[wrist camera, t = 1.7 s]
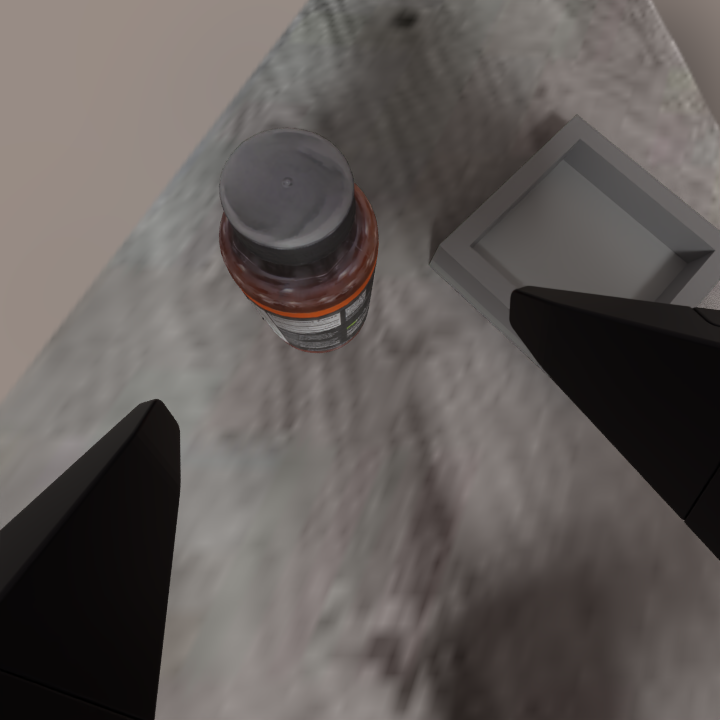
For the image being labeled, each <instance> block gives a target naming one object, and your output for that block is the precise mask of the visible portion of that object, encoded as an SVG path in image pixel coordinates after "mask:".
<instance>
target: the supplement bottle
mask: <svg viewBox="0 0 720 720" xmlns="http://www.w3.org/2000/svg"><path fill="white" fill-rule="evenodd" d="M219 191H220V199H221V204H222V207H223V210H224V212H223V215H222V220H221V222H220V231H219V243H220V249H221V254H222V257H223V260H224V262H225V264H226V266H227V268H228V271H229V273H230V274H231V276H232V278H233V279H234V281H235V282H236V283H237V285H238V286H239V287H240V288H241V290H242V291H243V293H244V294H245V295H246V297H247V298H248V299H249V301H250V302H251V303H252V304H253V305H254V307H255V308H256V309H257V310H258V312H259V313H260V314H261V315H262V317H263V320H264V319H265V320H266V321H267V323H268V324H269V325H270V326H271V328H272V329H273V330H274V331H275V332H276V333H277V334H278V335H279V336H280V337H281V339H283V340H284V341H285V342H286V343H288V344H289V345H291V346H292V347H294V348H296V349H298V350H301V351H305V352H310V353H324V352H329V351H333V350H336V349H339V348H341V347H342V346H344V345H345V344H347V343H348V342H350V341H351V340H352V339H353V338H354V337H355V336H356V335H357V334H358V332H359V331H360V329H361V327H362V326H363V324H364V321H365V320H366V316H367V313H368V309H369V303H370V297H371V290H372V285H373V279H374V273H375V267H376V260H377V254H378V245H379V243H378V227H377V221H376V218H375V214H374V212H373V209H372V206H371V204H370V203H369V201H368V199H367V198H366V196H365V194H364V193H363V192H362V191H361V189H360V188H359V187H358V186H357V185H356V184H355V183H354V179H353V175H352V172H351V169H350V167H349V164H348V162H347V160H346V158H345V157H344V155H343V154H342V153H341V152H340V151H339V149H338V148H337V147H336V146H335V145H334V144H332V143H331V142H330V141H329V140H327V139H325V138H324V137H322V136H320V135H318V134H316V133H314V132H310V131H307V130H302V129H297V128H277V129H271V130H267V131H263V132H260V133H258V134H256V135H254V136H252V137H250V138H249V139H247V140H245V141H244V142H242V143H241V144H240V145H239V146H238V147H237V148H236V149H235V150H234V152H233V153H232V154H231V155H230V157H229V158H228V160H227V161H226V163H225V166H224V168H223V170H222V174H221V179H220V184H219Z"/></svg>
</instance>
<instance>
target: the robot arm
mask: <svg viewBox="0 0 720 720" xmlns="http://www.w3.org/2000/svg"><path fill="white" fill-rule="evenodd" d="M509 321H510V325H511V327H512V328H513V330H514V331H515V332H516V334H517V335H518V336H519V338H520V339H521V340H522V342H523V343H524V345H525V346H526V347H527V349H528V350H529V351H530V353H531V354H532V355H533V357H534V358H535V360H536V361H537V362H538V363H539V365H540V366H541V367H542V369H543V370H544V371H545V372H546V373H547V374H548V375H549V376H550V378H551V379H552V380H553V381H554V382H555V383H556V384H557V385H558V386H559V387H560V388H561V389H562V390H563V392H564V393H565V394H566V395H567V396H568V397H569V398H570V399H571V400H572V401H573V402H574V403H575V405H576V406H577V407H578V408H579V409H580V410H581V411H582V412H583V413H584V414H585V415H586V416H587V417H588V419H589V420H590V421H591V422H592V423H593V424H594V425H595V426H596V427H597V428H598V429H599V430H600V431H601V433H602V434H603V435H604V436H605V437H606V438H607V439H608V440H609V441H610V442H611V443H612V444H613V446H614V447H615V448H616V449H617V450H618V451H619V452H620V453H621V454H622V455H623V456H624V457H625V458H626V460H627V461H628V462H629V463H630V464H631V465H632V466H633V467H634V468H635V469H636V470H637V471H638V472H639V474H640V475H641V476H642V477H643V478H644V479H645V480H646V481H647V482H648V483H649V484H650V485H651V487H652V488H653V489H654V490H655V491H656V492H657V493H658V494H659V495H660V496H661V497H662V498H663V499H664V501H665V502H666V503H667V504H668V505H669V506H670V507H671V508H672V509H673V510H674V511H675V512H676V513H677V515H678V516H679V517H680V518H681V519H682V520H684V522H685V524H686V525H687V526H688V527H689V528H690V529H691V530H692V531H693V532H694V533H695V534H696V535H697V536H698V538H699V539H700V540H701V541H702V542H703V543H704V544H705V545H706V546H707V547H708V548H709V549H710V550H711V552H712V553H713V554H714V555H715V556H716V557H717V558H718V559H719V560H720V310H714V309H706V308H698V307H694V308H691V307H689V306H682V305H675V304H667V303H659V302H652V301H644V300H636V299H629V298H621V297H613V296H606V295H598V294H590V293H583V292H575V291H567V290H560V289H552V288H544V287H537V286H524V287H521V288H517V289H515V290H513V291H512V293H511V296H510V310H509ZM180 483H181V470H180V429H179V425H178V423H177V421H176V420H175V419H174V417H173V416H172V414H171V413H170V412H169V410H168V409H167V407H166V406H165V404H164V403H163V402H162V401H161V400H159V399H153V400H150V401H147V402H144V403H141V404H139V405H138V406H137V407H135V408H134V409H133V410H132V411H131V412H130V413H129V414H128V415H127V416H126V417H124V418H123V419H122V420H121V421H120V422H119V423H118V424H117V425H116V426H115V427H113V428H112V429H111V430H110V431H109V432H108V433H107V434H106V435H105V436H104V437H102V438H101V439H100V440H99V441H98V442H97V443H96V444H95V445H94V446H93V447H91V448H90V449H89V450H88V451H87V452H86V453H85V454H84V455H83V456H82V457H80V458H79V459H78V460H77V461H76V462H75V463H74V464H73V465H72V466H71V467H69V468H68V469H67V470H66V471H65V472H64V473H63V474H62V475H61V476H60V477H58V478H57V479H56V480H55V481H54V482H53V483H52V484H51V485H50V486H49V487H47V488H46V489H45V490H44V491H43V492H42V493H41V494H40V495H39V496H38V497H36V498H35V499H34V500H33V501H32V502H31V503H30V504H29V505H28V506H27V507H25V508H24V509H23V510H22V511H21V512H20V513H19V514H18V515H17V516H16V517H14V518H13V519H12V520H11V521H10V522H9V523H8V524H7V525H6V526H5V527H3V528H2V529H1V530H0V720H154V719H155V710H156V702H157V693H158V684H159V675H160V666H161V657H162V648H163V640H164V631H165V622H166V613H167V604H168V595H169V586H170V577H171V569H172V560H173V551H174V542H175V533H176V524H177V515H178V507H179V498H180Z"/></svg>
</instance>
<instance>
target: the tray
mask: <svg viewBox="0 0 720 720" xmlns="http://www.w3.org/2000/svg"><path fill="white" fill-rule="evenodd" d="M429 266H430V267H431V268H433V269H434V270H435V271H436V272H437V273H438V274H439V275H440V276H441V277H442V278H443V279H444V280H446V281H447V282H448V283H449V284H450V285H451V286H452V287H453V288H454V289H455V290H456V291H457V292H458V293H460V294H461V295H462V296H463V297H464V298H465V299H466V300H467V301H468V302H469V303H470V304H471V305H473V306H474V307H475V308H476V309H477V310H478V311H479V312H480V313H481V314H482V315H483V316H484V317H485V318H487V319H488V320H489V321H490V322H491V323H492V324H493V325H494V326H495V327H496V328H497V329H498V330H500V331H501V332H502V333H503V334H504V335H505V336H506V337H507V338H508V339H509V340H510V341H511V342H513V343H514V344H515V345H516V346H517V347H518V348H519V349H520V350H521V351H522V352H523V353H524V354H525V355H527V356H528V357H529V358H530V359H531V360H532V361H533V362H534V363H535V364H536V365H537V366H538V367H540V368H541V369H542V367H541V366H540V365H539V363H538V362H537V361H536V360H535V358H534V357H533V355H532V354H531V353H530V351H529V350H528V349H527V347H526V346H525V345H524V343H523V342H522V340H521V339H520V338H519V336H518V335H517V334H516V332H515V331H514V330H513V328H512V327H511V325H510V321H509V310H510V296H511V293H512V291H513V290H515V289H517V288H521V287H524V286H537V287H544V288H552V289H560V290H567V291H575V292H583V293H590V294H598V295H606V296H613V297H621V298H629V299H636V300H644V301H652V302H659V303H667V304H675V305H682V306H689V307H691V308H694V307H697V306H698V305H699V304H700V303H701V302H702V301H703V299H704V298H705V297H706V296H707V295H708V293H709V292H710V291H711V290H712V289H713V287H714V286H715V285H716V284H717V283H718V282H719V280H720V231H719V230H718V229H717V228H716V227H715V226H713V225H712V224H711V223H710V222H708V221H707V220H706V219H705V218H704V217H702V216H701V215H700V214H699V213H697V212H696V211H695V210H694V209H692V208H691V207H690V206H689V205H688V204H686V203H685V202H684V201H683V200H681V199H680V198H679V197H678V196H677V195H675V194H674V193H673V192H672V191H670V190H669V189H668V188H667V187H666V186H664V185H663V184H662V183H661V182H659V181H658V180H657V179H656V178H654V177H653V176H652V175H651V174H650V173H648V172H647V171H646V170H645V169H643V168H642V167H641V166H640V165H639V164H637V163H636V162H635V161H634V160H632V159H631V158H630V157H629V156H628V155H626V154H625V153H624V152H623V151H621V150H620V149H619V148H618V147H616V146H615V145H614V144H613V143H612V142H610V141H609V140H608V139H607V138H605V137H604V136H603V135H602V134H601V133H599V132H598V131H597V130H596V129H594V128H593V127H592V126H591V125H590V124H588V123H587V122H586V121H585V120H583V119H582V118H581V117H580V116H578V115H577V114H576V115H575V116H574V117H573V118H572V119H571V120H570V121H569V122H568V123H567V124H566V125H565V126H564V127H563V128H562V129H561V130H560V131H559V132H558V133H557V134H555V135H554V136H553V137H552V138H551V139H550V140H549V141H548V142H547V143H546V144H545V145H544V146H543V147H542V148H541V149H540V150H539V151H538V152H537V153H535V154H534V155H533V156H532V157H531V158H530V159H529V160H528V161H527V162H526V163H525V164H524V165H523V166H522V167H521V168H520V169H519V170H518V171H517V172H516V173H514V174H513V175H512V176H511V177H510V178H509V179H508V180H507V181H506V182H505V183H504V184H503V185H502V186H501V187H500V188H499V189H498V190H497V191H496V192H495V193H493V194H492V195H491V196H490V197H489V198H488V199H487V200H486V201H485V202H484V203H483V204H482V205H481V206H480V207H479V208H478V209H477V210H476V211H475V212H473V213H472V214H471V215H470V216H469V217H468V218H467V219H466V220H465V221H464V222H463V223H462V224H461V225H460V226H459V227H458V228H457V229H456V230H455V231H454V232H452V233H451V234H450V235H449V236H448V237H447V238H446V239H445V240H444V241H443V242H442V243H441V244H440V245H439V246H438V248H437V250H436V252H435V254H434V256H433V258H432V260H431V262H430V264H429ZM542 370H543V369H542ZM543 371H544V370H543ZM544 372H545V371H544ZM545 373H546V372H545ZM546 374H547V373H546ZM547 375H548V374H547ZM548 376H549V375H548ZM549 377H550V376H549Z"/></svg>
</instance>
